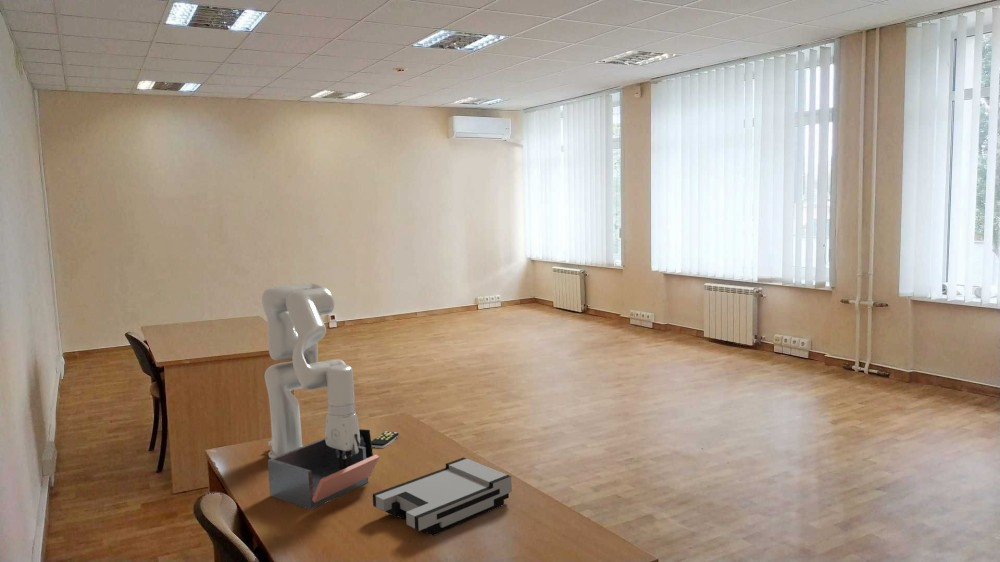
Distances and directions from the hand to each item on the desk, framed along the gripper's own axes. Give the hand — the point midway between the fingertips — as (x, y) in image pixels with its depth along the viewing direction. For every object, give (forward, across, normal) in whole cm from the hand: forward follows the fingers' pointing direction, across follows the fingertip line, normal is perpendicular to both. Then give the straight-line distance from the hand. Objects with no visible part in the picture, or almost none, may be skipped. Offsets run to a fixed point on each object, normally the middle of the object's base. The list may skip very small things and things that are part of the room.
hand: (345, 470), depth 207 cm
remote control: (+9, -24, +40) cm, 47 cm away
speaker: (+9, -18, +22) cm, 29 cm away
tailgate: (+5, -2, 0) cm, 6 cm away
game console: (+9, +30, +8) cm, 32 cm away
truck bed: (+8, -11, 0) cm, 14 cm away
